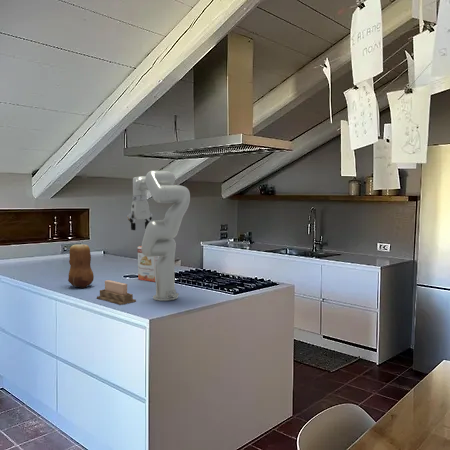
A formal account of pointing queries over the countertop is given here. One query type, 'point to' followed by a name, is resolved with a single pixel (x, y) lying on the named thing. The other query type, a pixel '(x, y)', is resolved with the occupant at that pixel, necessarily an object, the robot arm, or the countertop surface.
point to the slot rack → (116, 297)
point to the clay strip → (116, 287)
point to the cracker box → (146, 266)
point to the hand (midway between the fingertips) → (140, 229)
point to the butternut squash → (80, 266)
